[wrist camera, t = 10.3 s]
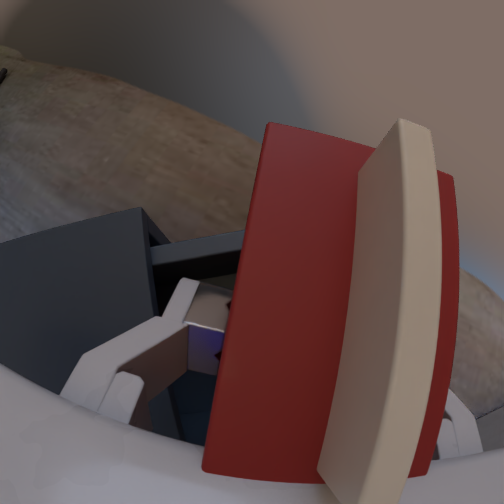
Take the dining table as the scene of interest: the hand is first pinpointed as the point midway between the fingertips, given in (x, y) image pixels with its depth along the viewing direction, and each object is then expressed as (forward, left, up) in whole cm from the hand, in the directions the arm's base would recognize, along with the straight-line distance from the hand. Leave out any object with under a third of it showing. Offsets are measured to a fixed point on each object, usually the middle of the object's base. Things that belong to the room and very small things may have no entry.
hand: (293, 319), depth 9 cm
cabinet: (+1, -11, -11) cm, 15 cm away
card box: (0, 0, -7) cm, 7 cm away
